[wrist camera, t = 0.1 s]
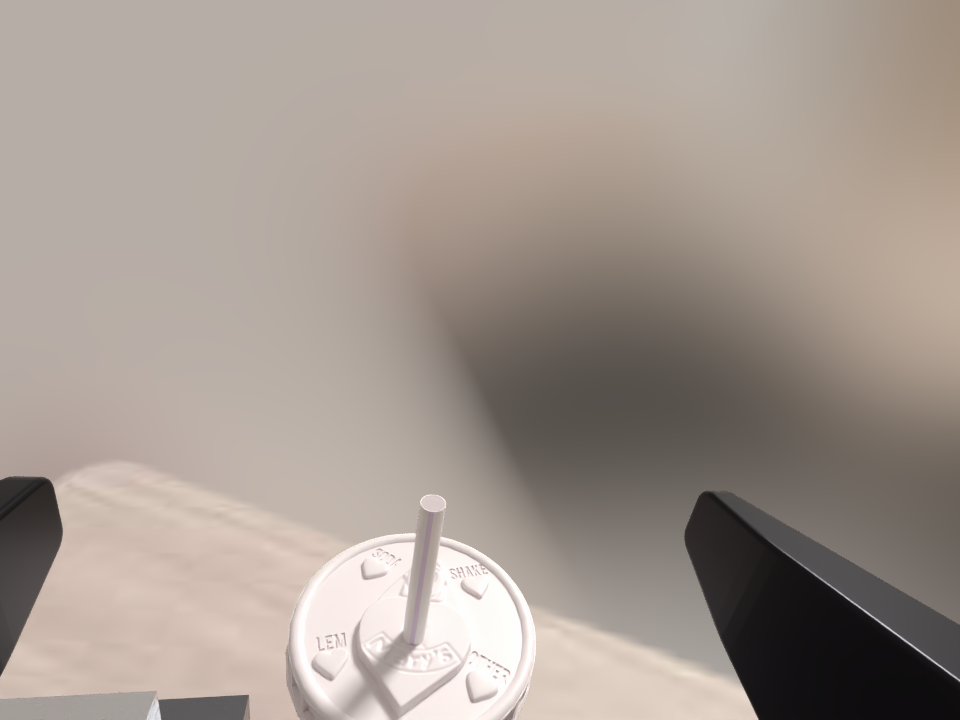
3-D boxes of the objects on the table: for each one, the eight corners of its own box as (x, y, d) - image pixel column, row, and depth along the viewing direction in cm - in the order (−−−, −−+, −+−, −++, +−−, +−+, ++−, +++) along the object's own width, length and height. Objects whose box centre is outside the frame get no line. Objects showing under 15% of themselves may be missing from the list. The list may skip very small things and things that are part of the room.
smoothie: (249, 934, 15) (226, 575, 9) (322, 707, 21) (337, 394, 15) (475, 969, 16) (596, 635, 9) (486, 733, 21) (566, 431, 15)
